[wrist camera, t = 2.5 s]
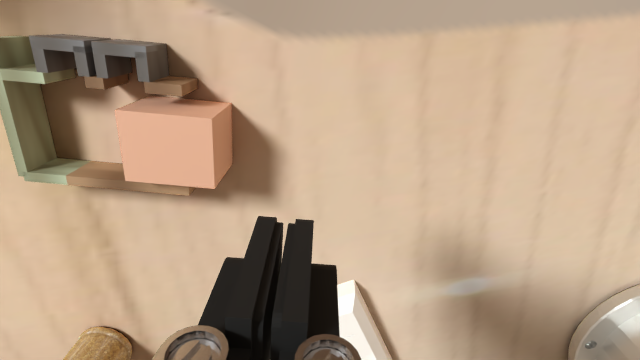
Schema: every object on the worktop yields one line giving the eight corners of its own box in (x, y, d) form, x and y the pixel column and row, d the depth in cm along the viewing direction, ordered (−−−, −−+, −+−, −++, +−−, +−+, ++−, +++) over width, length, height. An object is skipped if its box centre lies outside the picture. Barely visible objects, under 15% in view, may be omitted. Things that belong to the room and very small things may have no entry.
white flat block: (353, 276, 27) (355, 300, 25) (391, 354, 31) (396, 383, 28) (295, 294, 28) (291, 320, 26) (338, 369, 32) (338, 398, 29)
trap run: (195, 46, 21) (178, 49, 18) (202, 179, 24) (189, 195, 22) (17, 30, 21) (-23, 31, 18) (49, 165, 24) (19, 180, 22)
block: (231, 102, 22) (211, 118, 18) (232, 163, 24) (214, 188, 20) (150, 95, 22) (114, 110, 18) (157, 156, 24) (125, 180, 20)
